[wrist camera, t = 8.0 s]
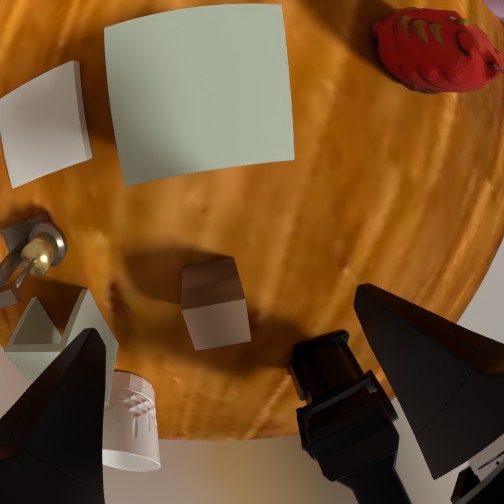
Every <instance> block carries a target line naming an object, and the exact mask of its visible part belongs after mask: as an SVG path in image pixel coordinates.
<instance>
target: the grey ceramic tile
mask: <svg viewBox="0 0 504 504" xmlns="http://www.w3.org/2000/svg"><path fill="white" fill-rule="evenodd" d="M0 132H1V139H2V145H3V150H4V155H5V160H6V165H7V169H8V173H9V177H10V181H11V185H12V189H14V188H16V187H18V186H20V185H23V184H25V183H27V182H30V181H32V180H34V179H37V178H39V177H42V176H44V175H47V174H49V173H52V172H55V171H57V170H60V169H63V168H66V167H69V166H71V165H74V164H77V163H80V162H83V161H87V160H89V159H90V158H92V153H91V148H90V143H89V137H88V132H87V126H86V120H85V113H84V106H83V98H82V89H81V79H80V66H79V61H76V60H72V61H69V62H67V63H65V64H62V65H60V66H58V67H56V68H54V69H52V70H50V71H48V72H46V73H44V74H42V75H40V76H38V77H36V78H34V79H32V80H30V81H29V82H27V83H25V84H23V85H22V86H20V87H18V88H17V89H15V90H13V91H12V92H10V93H8V94H7V95H5V96H4V97H2V98H1V99H0Z"/></svg>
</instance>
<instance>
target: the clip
mask: <svg viewBox="0 0 504 504" xmlns="http://www.w3.org/2000/svg"><path fill="white" fill-rule="evenodd" d="M482 1H483V2H484V3H485V4H486V6H487V7H488V8H489V9H490V10H491V11H492V12H493V13H494V14H495V15H497V16H498V17H499V18H500V19H501V20H502V22H503V23H504V0H482Z"/></svg>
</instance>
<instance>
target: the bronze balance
mask: <svg viewBox="0 0 504 504" xmlns="http://www.w3.org/2000/svg"><path fill="white" fill-rule="evenodd" d="M1 233H2V236H3V238H4V241H5V243H6V246H7V248H8V251H9V254H8V255H7V256H6V257H5V258H4V260H3V261H2V262H1V263H0V309H1V308H4V307H7V306H10V305H13V304H16V303H18V302H19V300H20V298H21V293H20V292H19V290H18V288H19V286H20V285H21V283H22V282H23V280H24V279H25V278H26V276H27V275H28V273H29V272H30V273H31V274H33V275H36V276H41V275H43V274H45V273H46V271H47V270H48V268H49V267H50V266H55V265H58V264H59V263H60V262H61V261H62V260H63V258H64V257H65V255H66V253H67V241H66V238H65V236H64V234H63V232H62V231H61V230H60V228H59V227H57V226H56V225H55V224H53V223H51V222H50V219H49V216H48V213H47V211H45V212H42V213H39V214H36V215H33V216H30V217H27V218H25V219H22V220H19V221H16V222H14V223H11V224H9V225H6V226H5V227H4V228H3V229H2V230H1ZM22 267H25V269H24V270H23V271H22V272H21V274H20V275H19V277H18V278H17V279H16V281H15V282H13V283H10V284H7V285H5V286H4V284H5V283H6V282H7V280H8V279H9V278H10V276H11V275H12V274H13V272H14V271H15V270H16V268H17V269H18V268H22Z"/></svg>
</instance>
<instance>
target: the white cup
mask: <svg viewBox="0 0 504 504" xmlns="http://www.w3.org/2000/svg"><path fill="white" fill-rule="evenodd" d="M154 406H155V401H154V390H153V388H152V385H151V384H150V383H149V382H147V381H146V380H145V379H144V378H142V377H139V376H137V375H134V374H132V373H127V372H120V371H116V372H114V375H113V381H112V388H111V396H110V404H109V405H104V418H103V446H102V462H103V464H104V465H107V466H111V467H114V468H119V469H124V470H131V471H152V470H156V469H159V468H160V466H161V464H160V456H159V445H158V433H157V423H156V411H155V407H154Z"/></svg>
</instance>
